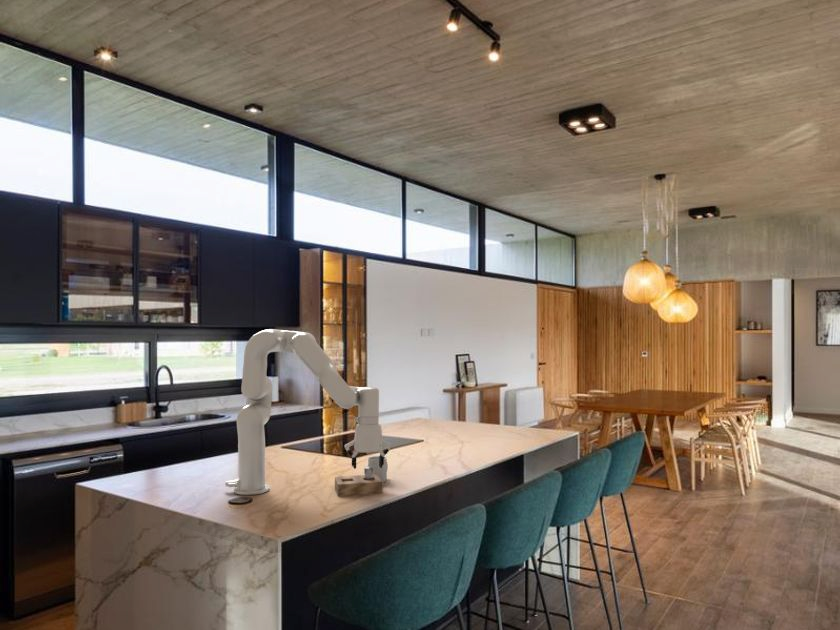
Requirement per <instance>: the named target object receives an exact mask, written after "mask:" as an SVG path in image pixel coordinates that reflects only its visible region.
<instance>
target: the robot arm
mask: <svg viewBox="0 0 840 630" xmlns="http://www.w3.org/2000/svg"><path fill="white" fill-rule="evenodd" d="M275 352H277V353H278V352H279V353H288V354H295V356H297V358H298V359H299V360H300V361H301V362H302V363H303V364H304V365H305V367H306V368H307V369H308V370H309V371H310V373H312V375H313V376H314V377H315V379H316V381H317V382H318V383H319V384H320V385H321V387H322V388H323V390H324V391H325V393H327V395H329V397H330V398H331V399H332V400H333V402H334V403H336V405H338V407H340V408H342V409H346V410H347V409H351V408H353V407H354V406H357V408H358V412H357V413H358V414H357V417H354V419H353V420H354V421H353V422H356V423H357V424H356V425H355V429H354V438H353V440H351V441H350V442H348V443H345V444H344V449H345V450H346V452H347V454H348V455H349V456H350V457H351V467H353V469H354V470H355V469H357V457H356V456H357V455H358V454H362V453H363V454H365V453H367V454H369V453H371V454H372V453H379V455H378V456H379V466H380V467H381V468H382V465H384V457H386V455H387V454H388V453H389V451H390V449H391V447H392V443H390V442H388V441H386V440H384V439H383V431H382V425H381V424H380V423H379V420H380V417H379V416H380V415H379V413H380V412H379V411H380V410H379V408H380V405H379V404H380V390H379V388H378V387H375V386H360V387H359V386H354V385H353V386H352V385H348V383H347V382H346V381H345V380H344V379H343V378H342V376H341V375H340V373H339V372H338V370H337V368H336V365H335V363H334V361H333V360H332V359H331V358H330V356H329V355H328V354H327V353H326V352H325V350H324V349H323V348H321V346H320V345H319V344H318V342H317V339H316V338H315V336H314V335H313V334H312V333H310V332H307V331H305V332H304V331H295V330H284V329H276V328H269V329H268V328H267V329H264V330H261V331H258V332H256V333H255V334H253V335H252V336H251V337H250V338H249V339H248V341H247V343H246V345H245V349H244V354H243V365H242V375H241V376H242V378H241V388H240V389H241V394H242V396H243V398H245V399H246V405H244V406H243V407H242V408H241V409H240V410H239V411H238V412H237V413H238V414H237V417H236V429H237V441H238V442H237V443H238V444H237V448H238V449H237V453H238V454H237V455H238V463H237V465H238V466H237V467H238V470H237V471H238V472H237V474H238V475H237V476H238V477H237V479H234V480H225V487H228V488H233V487H234V488H233V493H234V494H236V495H241V496H250V495H251V496H253V495H259V494H261V495H262V494H265V493H266V492H268V491H270V490H271V489H270V485H269V484H266V436H265V433H266V432H265V425H266V424H267V423H268V421H269V420H270V418H271V412H272V399H273V398H272V397H273V384H272V380H271V379H270V377H269V376H267V371H268V370H267V369H268V355H269V354H271V353H275ZM383 445H385V448H384V449H383ZM351 446H352V447H353V448H354V450H353V451H352V450H351V449H350V447H351Z"/></svg>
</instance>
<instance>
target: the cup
mask: <svg viewBox="0 0 840 630" xmlns="http://www.w3.org/2000/svg"><path fill="white" fill-rule="evenodd" d="M379 456H380V455H375V456H370V457H368V458H367V467H373V475H375V474H377V475H378V476H379V477H380V479H381V480H382V482H383V483H386V482H387V479H388V477H387V475H388V474H387V473H388V461H387V459H388V458H387V457H386V456H384V465H382V468H381V467H380V466H379Z"/></svg>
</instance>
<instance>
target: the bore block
mask: <svg viewBox="0 0 840 630" xmlns="http://www.w3.org/2000/svg"><path fill="white" fill-rule="evenodd" d="M383 485H384V484H383V482H382V480H381V479H380V477H379V476H378V475H377V474H375V475H373V480H365V477H364V474H362V475H361V474H360V475H345V476H342V475H341V476H334V490H335V492H336V495H337V496H338V497H342V496H343V497H344V496H356V495H358V496H359V495H371V494H372V495H373V494H383V492H384V491H383V490H384V488H383V487H384V486H383Z"/></svg>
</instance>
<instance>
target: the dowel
mask: <svg viewBox="0 0 840 630" xmlns="http://www.w3.org/2000/svg"><path fill="white" fill-rule="evenodd" d="M363 471H364V472H363V473H364V474H363V475H364V477H365V480H373V467H368V466H365V467H363Z"/></svg>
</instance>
